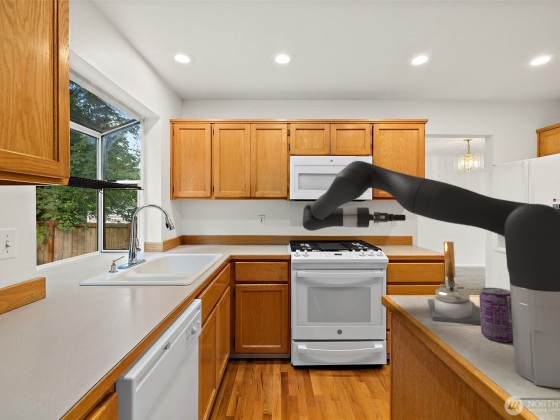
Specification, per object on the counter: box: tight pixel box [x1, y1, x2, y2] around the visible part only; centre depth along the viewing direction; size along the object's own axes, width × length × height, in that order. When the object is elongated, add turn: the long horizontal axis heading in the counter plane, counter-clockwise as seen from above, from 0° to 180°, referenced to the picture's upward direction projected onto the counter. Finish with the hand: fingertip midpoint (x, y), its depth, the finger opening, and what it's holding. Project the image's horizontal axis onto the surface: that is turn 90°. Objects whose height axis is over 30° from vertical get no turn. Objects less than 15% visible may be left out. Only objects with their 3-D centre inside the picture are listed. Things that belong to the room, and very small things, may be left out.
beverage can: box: [479, 287, 513, 343], centre depth 74 cm, size 7×7×12 cm
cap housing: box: [427, 296, 481, 326], centre depth 94 cm, size 20×14×5 cm
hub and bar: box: [435, 241, 471, 303], centre depth 95 cm, size 19×9×16 cm, turn 151°
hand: (405, 217), depth 106 cm, fingers closed
